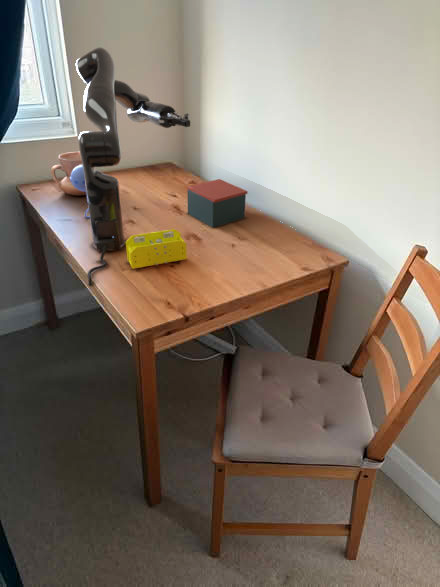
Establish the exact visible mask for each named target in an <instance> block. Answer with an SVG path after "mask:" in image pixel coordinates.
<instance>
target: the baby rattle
mask: <svg viewBox="0 0 440 587" xmlns="http://www.w3.org/2000/svg"><path fill="white" fill-rule="evenodd" d="M70 180H71V183H72V184H73V186H74V187H75V188H76V189H78V190H80V191H85V192H86V185H85V177H84V171H83V165H79V166H77V167H75V168H74V169H73V171H72V173H71V176H70ZM85 196H86V198H87V192H86V195H85ZM86 201H87V202H86V203H88V200H87V199H86ZM87 213H89V207H87V209H86V210H85V211H84V217H85V218H87V219H90V215H87Z"/></svg>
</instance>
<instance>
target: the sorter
mask: <svg viewBox="0 0 440 587" xmlns="http://www.w3.org/2000/svg"><path fill="white" fill-rule="evenodd" d="M186 190H187V215H189V216H191V217H193V218H195V219H196V220H198V221H200V222H202V223H203V224H205V225H207V226H209V227H211V228H216V227H219V226H222V225H226V224H230V223H232V222H236V221H239V220H243V219H245V215H246V201H247V200H246V197H247V194H245V195H241V196H237V197H233V198H230V199H226V200H222V201H218V202H213V201H211V200H209V199H207V198H205V197H203V196H201V195H199V194H197V193H195V192H193V191H191V190H189V189H187V188H186Z"/></svg>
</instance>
